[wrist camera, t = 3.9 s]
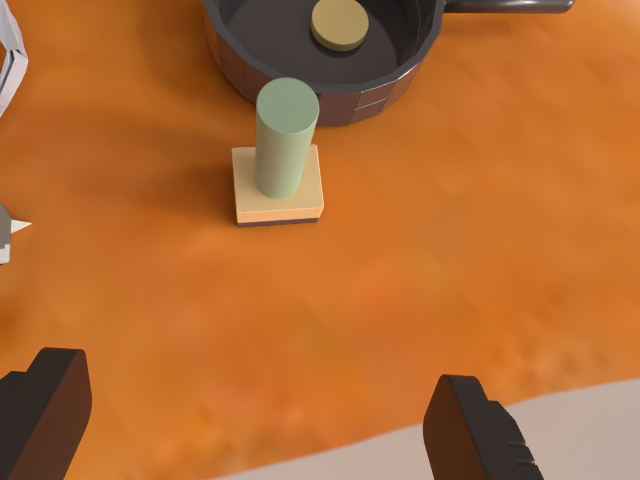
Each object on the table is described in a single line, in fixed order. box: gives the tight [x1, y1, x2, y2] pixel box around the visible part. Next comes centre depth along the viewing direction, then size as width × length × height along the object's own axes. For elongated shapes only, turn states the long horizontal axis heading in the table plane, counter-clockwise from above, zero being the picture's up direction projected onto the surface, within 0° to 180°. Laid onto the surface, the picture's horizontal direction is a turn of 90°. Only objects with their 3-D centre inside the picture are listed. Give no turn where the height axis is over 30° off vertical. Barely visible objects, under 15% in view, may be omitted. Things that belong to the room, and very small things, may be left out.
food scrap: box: [311, 0, 369, 51], centre depth 32 cm, size 4×4×1 cm
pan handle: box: [443, 0, 575, 14], centre depth 32 cm, size 11×2×2 cm, turn 96°
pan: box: [201, 0, 445, 126], centre depth 31 cm, size 15×15×4 cm
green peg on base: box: [232, 78, 324, 227], centre depth 24 cm, size 5×4×11 cm
